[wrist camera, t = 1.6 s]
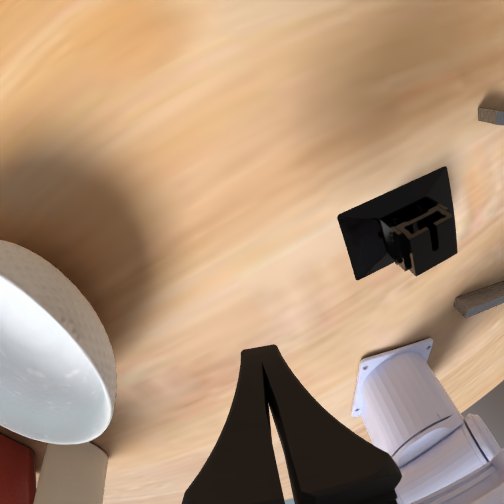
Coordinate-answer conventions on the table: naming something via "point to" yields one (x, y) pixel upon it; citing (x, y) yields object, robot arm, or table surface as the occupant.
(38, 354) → the cereal bowl
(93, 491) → the travel mug
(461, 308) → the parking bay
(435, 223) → the build plate
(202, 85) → the table surface
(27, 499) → the plant pot
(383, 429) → the robot arm
